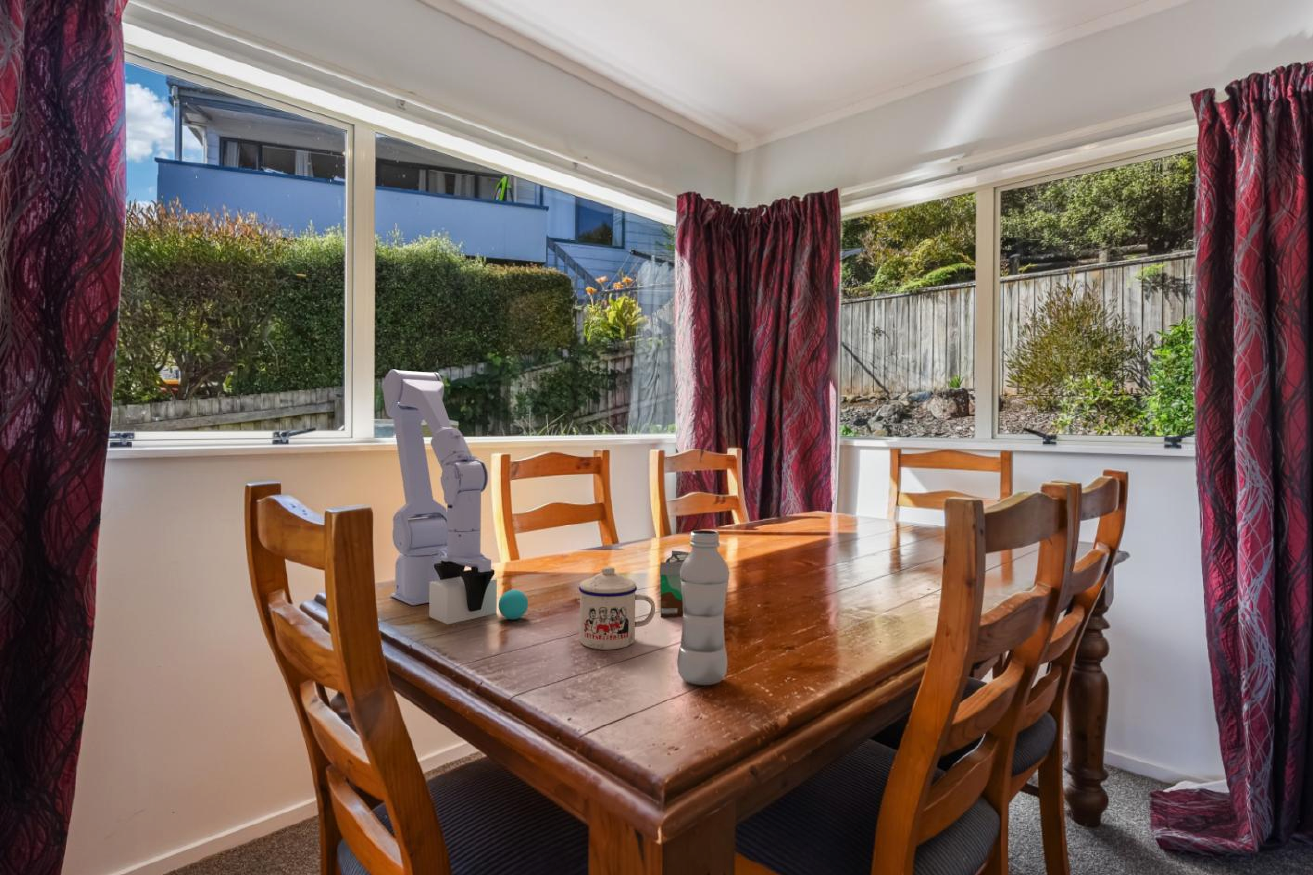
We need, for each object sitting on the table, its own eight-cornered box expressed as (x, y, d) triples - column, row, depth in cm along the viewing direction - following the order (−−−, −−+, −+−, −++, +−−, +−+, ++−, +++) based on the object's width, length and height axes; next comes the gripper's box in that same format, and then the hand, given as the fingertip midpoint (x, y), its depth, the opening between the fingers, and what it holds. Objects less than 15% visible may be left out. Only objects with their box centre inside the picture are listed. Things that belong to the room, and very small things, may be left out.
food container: (693, 622, 115) (694, 564, 115) (659, 619, 116) (659, 562, 116) (703, 603, 127) (704, 551, 127) (671, 601, 128) (672, 549, 128)
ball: (492, 618, 115) (493, 590, 115) (517, 613, 119) (517, 585, 119) (509, 625, 112) (509, 595, 112) (533, 619, 116) (533, 590, 115)
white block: (429, 616, 116) (429, 581, 116) (478, 606, 123) (478, 573, 123) (447, 624, 112) (447, 588, 112) (496, 613, 119) (496, 579, 119)
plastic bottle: (674, 673, 91) (676, 528, 91) (722, 672, 92) (725, 528, 92) (679, 692, 85) (682, 536, 85) (732, 691, 86) (734, 536, 85)
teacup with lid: (576, 651, 100) (577, 574, 99) (580, 632, 109) (580, 561, 108) (656, 651, 100) (657, 574, 100) (653, 632, 109) (654, 561, 109)
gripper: (422, 526, 119) (422, 601, 119) (465, 537, 109) (464, 619, 109) (458, 522, 124) (457, 595, 125) (502, 532, 114) (501, 610, 115)
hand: (463, 605), depth 117 cm, fingers open, 7 cm apart
